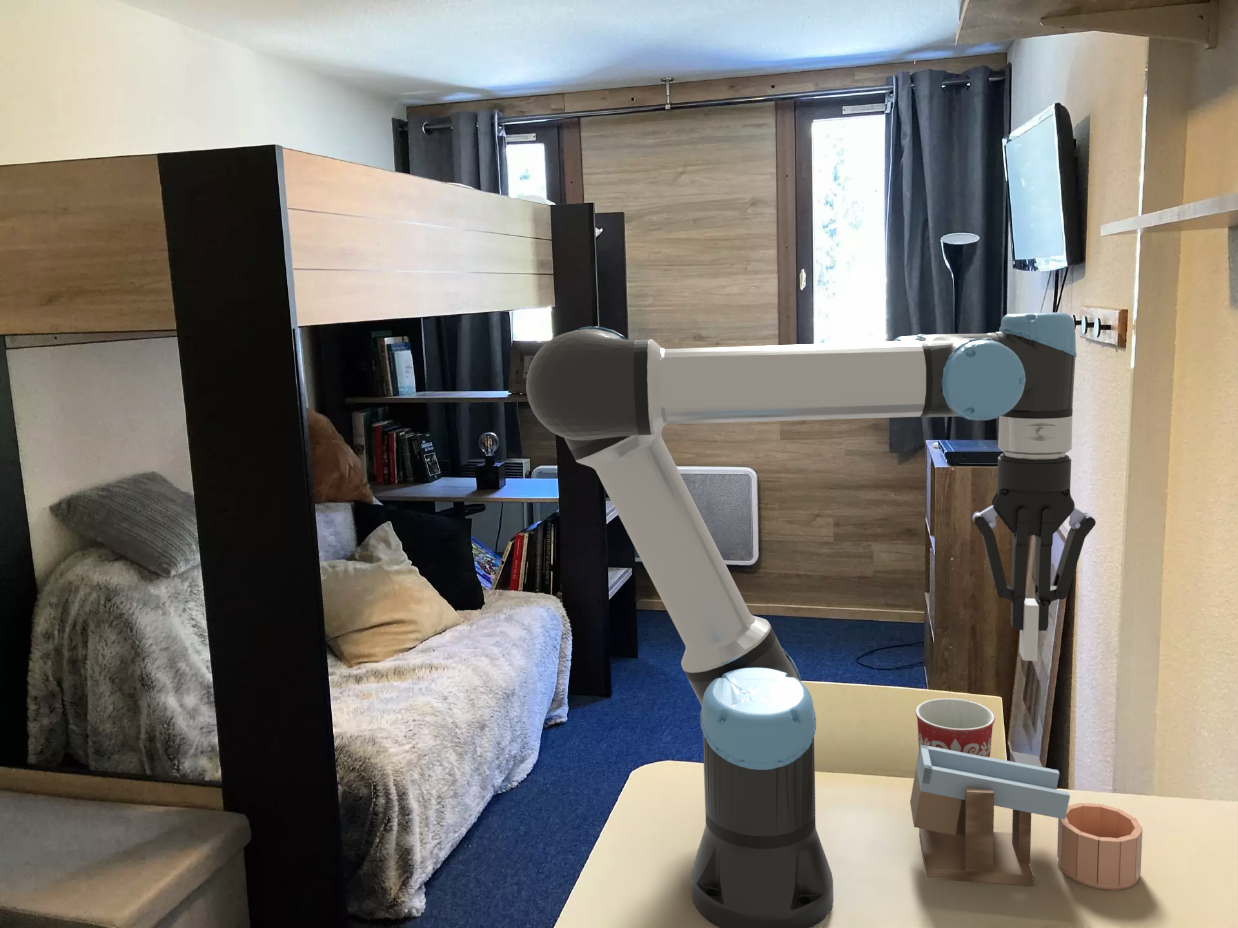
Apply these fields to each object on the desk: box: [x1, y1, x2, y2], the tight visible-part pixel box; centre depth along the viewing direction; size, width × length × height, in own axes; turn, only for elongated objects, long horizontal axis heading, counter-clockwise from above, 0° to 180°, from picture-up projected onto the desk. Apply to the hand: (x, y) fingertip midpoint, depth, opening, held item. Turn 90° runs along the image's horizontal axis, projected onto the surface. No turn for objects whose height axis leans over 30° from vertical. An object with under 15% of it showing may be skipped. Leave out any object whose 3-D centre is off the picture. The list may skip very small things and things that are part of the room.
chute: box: [909, 745, 1071, 835], centre depth 113 cm, size 15×13×7 cm
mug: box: [914, 698, 996, 758], centre depth 121 cm, size 13×9×14 cm
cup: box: [1056, 802, 1143, 891], centre depth 108 cm, size 8×8×6 cm
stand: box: [918, 788, 1034, 887], centre depth 111 cm, size 11×9×10 cm
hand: (1028, 656), depth 113 cm, fingers closed
